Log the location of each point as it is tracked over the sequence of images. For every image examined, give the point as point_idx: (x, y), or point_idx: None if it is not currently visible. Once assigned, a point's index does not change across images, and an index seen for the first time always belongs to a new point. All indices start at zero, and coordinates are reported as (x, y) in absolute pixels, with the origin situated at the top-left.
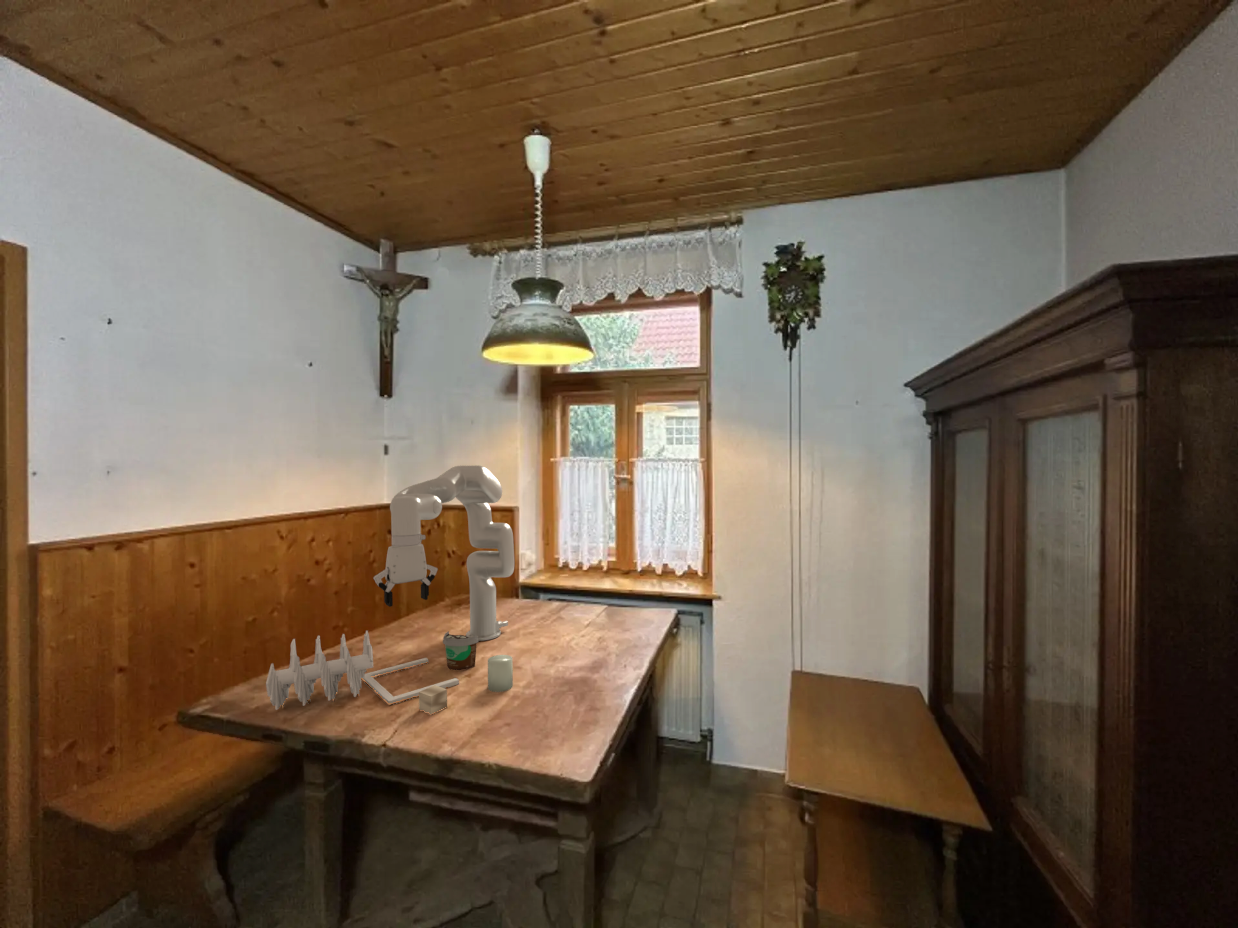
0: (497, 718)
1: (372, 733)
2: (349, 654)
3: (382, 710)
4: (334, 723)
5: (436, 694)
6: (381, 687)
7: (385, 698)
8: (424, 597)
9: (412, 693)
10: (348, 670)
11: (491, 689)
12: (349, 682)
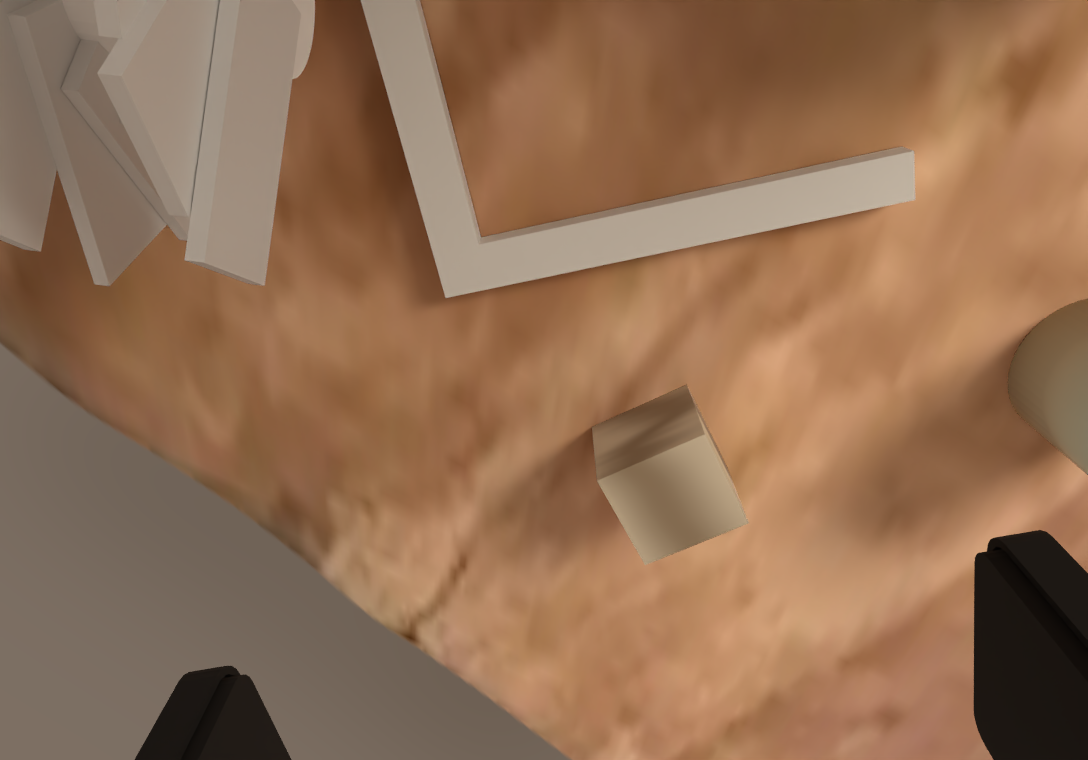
0: (878, 663)
1: (363, 537)
2: (31, 40)
3: (413, 330)
4: (176, 354)
5: (678, 548)
6: (412, 36)
7: (430, 243)
8: (996, 744)
9: (591, 257)
10: (108, 282)
11: (1015, 403)
12: (160, 227)
